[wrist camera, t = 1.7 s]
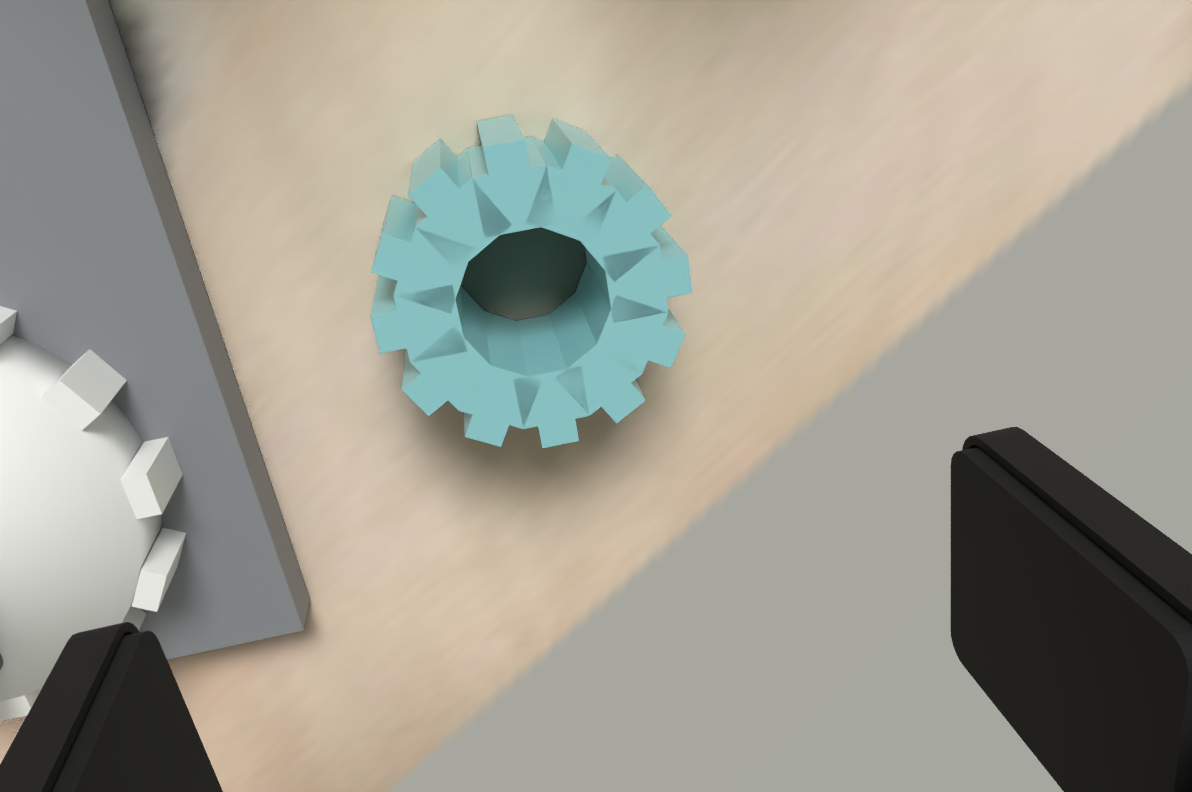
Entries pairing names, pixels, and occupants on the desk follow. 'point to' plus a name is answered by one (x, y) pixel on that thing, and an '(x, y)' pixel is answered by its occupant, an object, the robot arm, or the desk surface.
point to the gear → (540, 344)
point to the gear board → (114, 379)
